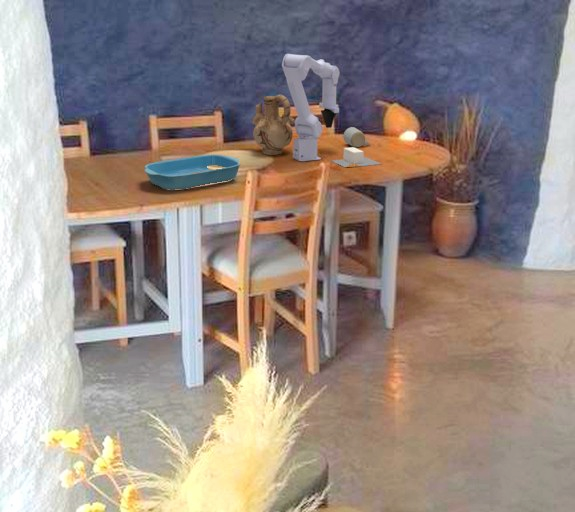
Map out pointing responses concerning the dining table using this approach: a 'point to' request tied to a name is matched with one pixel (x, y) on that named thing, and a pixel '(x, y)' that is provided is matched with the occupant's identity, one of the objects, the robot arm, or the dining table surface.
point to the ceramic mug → (355, 137)
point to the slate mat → (365, 163)
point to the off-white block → (353, 155)
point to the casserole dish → (191, 171)
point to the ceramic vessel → (273, 125)
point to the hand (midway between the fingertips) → (328, 127)
